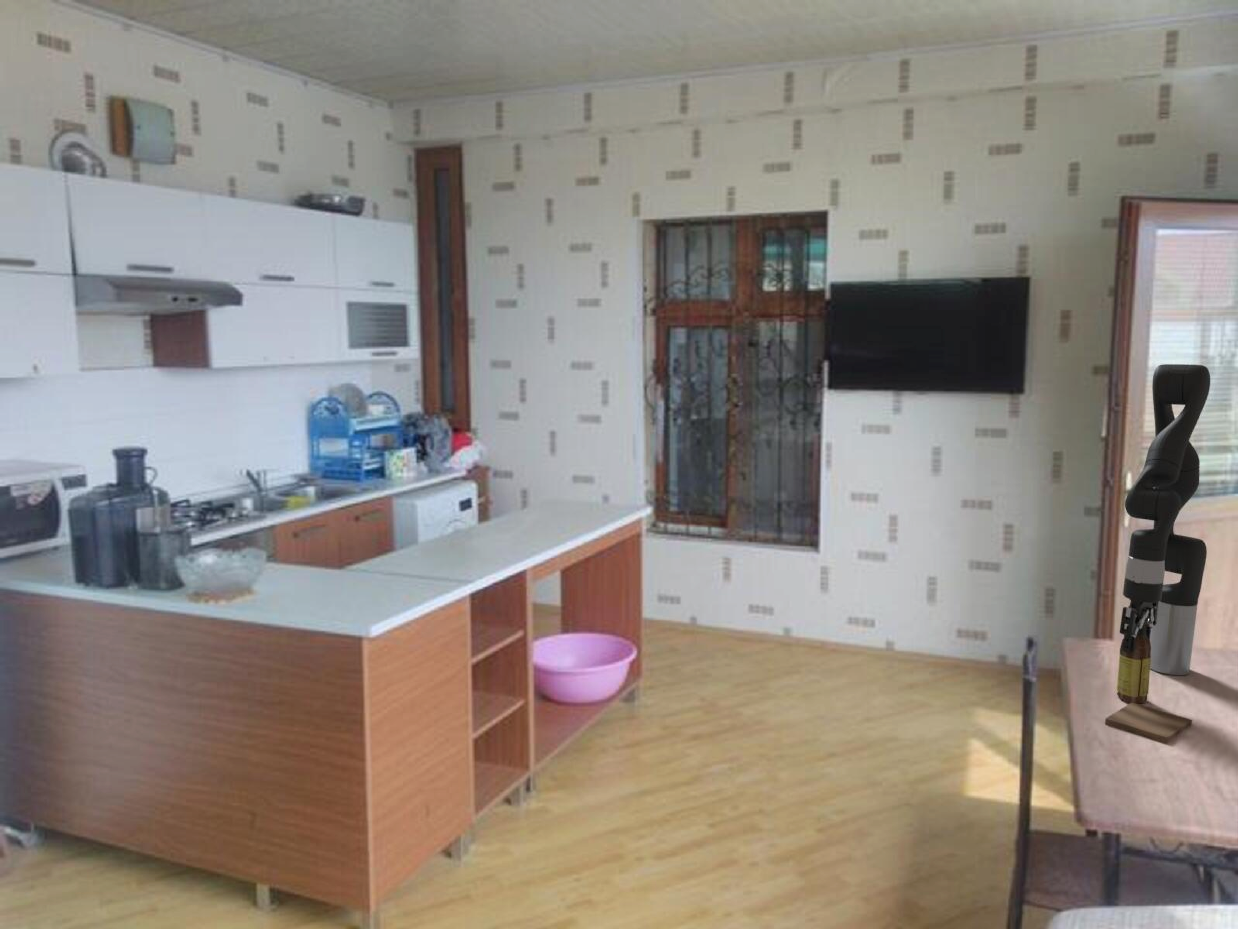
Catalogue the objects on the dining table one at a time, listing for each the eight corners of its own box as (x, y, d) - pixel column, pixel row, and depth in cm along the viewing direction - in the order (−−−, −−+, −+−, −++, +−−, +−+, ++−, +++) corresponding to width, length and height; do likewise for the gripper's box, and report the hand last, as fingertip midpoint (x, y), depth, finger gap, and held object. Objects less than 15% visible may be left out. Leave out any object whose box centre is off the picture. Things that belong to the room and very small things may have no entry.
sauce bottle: (1140, 694, 222) (1149, 610, 219) (1152, 705, 216) (1162, 618, 213) (1110, 693, 223) (1119, 608, 220) (1121, 703, 216) (1130, 617, 213)
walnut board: (1131, 707, 214) (1132, 702, 214) (1191, 725, 206) (1192, 720, 205) (1105, 724, 205) (1105, 718, 205) (1166, 743, 196) (1167, 737, 196)
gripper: (1138, 569, 222) (1130, 638, 225) (1113, 578, 213) (1105, 650, 215) (1174, 576, 217) (1165, 647, 219) (1149, 586, 208) (1141, 660, 210)
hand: (1135, 648), depth 217 cm, fingers open, 8 cm apart
